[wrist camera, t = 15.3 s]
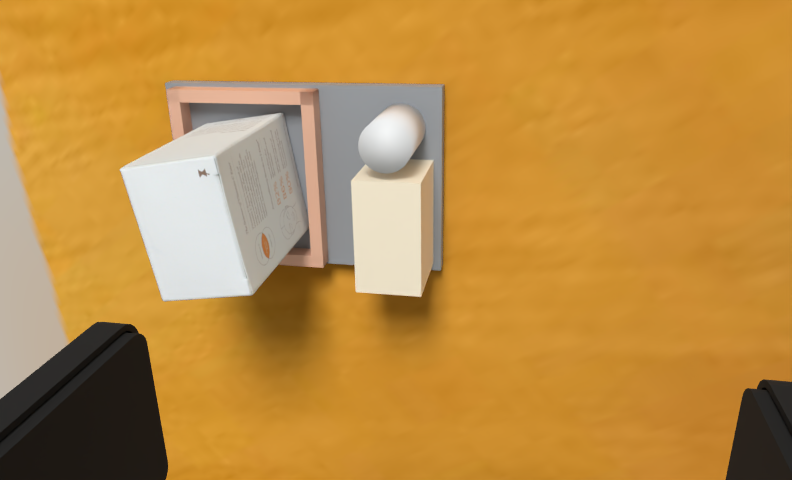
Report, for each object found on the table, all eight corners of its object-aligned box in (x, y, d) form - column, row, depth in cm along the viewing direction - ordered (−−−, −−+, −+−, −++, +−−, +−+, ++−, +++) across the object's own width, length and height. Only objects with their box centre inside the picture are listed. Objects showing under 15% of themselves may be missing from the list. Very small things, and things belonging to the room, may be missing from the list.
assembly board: (444, 84, 42) (429, 102, 36) (442, 264, 46) (429, 304, 41) (172, 80, 45) (121, 96, 40) (195, 248, 50) (152, 284, 44)
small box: (206, 121, 45) (114, 164, 35) (286, 110, 43) (213, 151, 34) (236, 235, 47) (159, 304, 38) (312, 228, 46) (252, 298, 36)
